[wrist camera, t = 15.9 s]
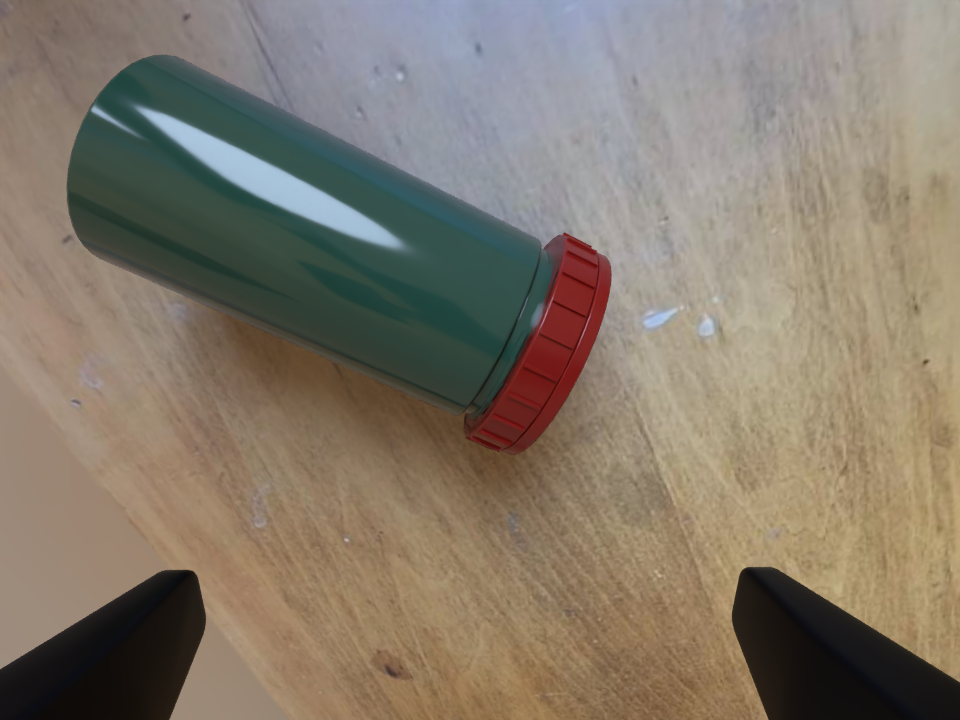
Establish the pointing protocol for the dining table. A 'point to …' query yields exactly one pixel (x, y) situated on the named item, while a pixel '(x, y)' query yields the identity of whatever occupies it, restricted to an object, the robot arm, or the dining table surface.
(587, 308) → the jar lid
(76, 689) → the robot arm
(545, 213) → the dining table surface
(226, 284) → the jar
